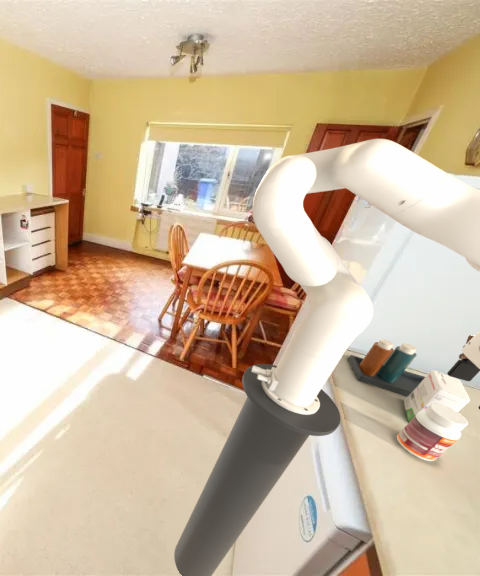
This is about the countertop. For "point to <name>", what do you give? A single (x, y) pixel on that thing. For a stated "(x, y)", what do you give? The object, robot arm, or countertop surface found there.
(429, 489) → the countertop surface
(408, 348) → the teal bottle
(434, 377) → the ink box
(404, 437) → the pill bottle
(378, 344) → the amber bottle
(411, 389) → the tray
